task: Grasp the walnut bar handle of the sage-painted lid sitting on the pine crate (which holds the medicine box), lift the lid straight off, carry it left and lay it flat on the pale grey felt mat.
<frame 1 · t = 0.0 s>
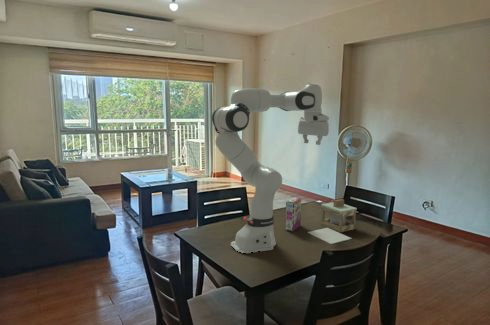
hand: (312, 143, 173), 48 cm above the table, fingers open, 8 cm apart
mat: (328, 235, 175), on the table
lid: (338, 207, 187), point 11 cm above the table, touching crate
candy bar box: (293, 228, 187), on the table
crate: (337, 226, 188), on the table
medicine box: (337, 227, 188), resting in crate
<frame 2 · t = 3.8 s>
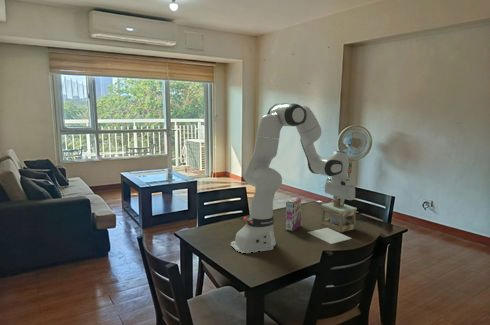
hand: (338, 204, 186), 13 cm above the table, fingers closed on lid
lid: (338, 207, 187), point 11 cm above the table, touching crate, gripper
everything else where it was.
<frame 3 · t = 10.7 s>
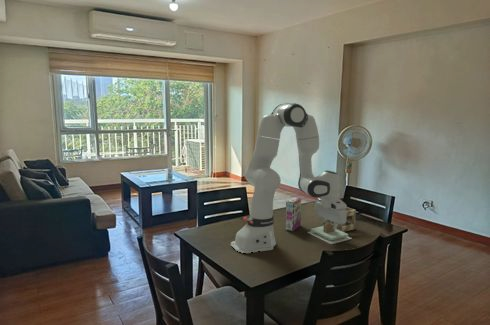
hand: (329, 227, 174), 5 cm above the table, fingers open, 6 cm apart
lid: (329, 233, 175), point 1 cm above the table, touching mat
everything else where it was.
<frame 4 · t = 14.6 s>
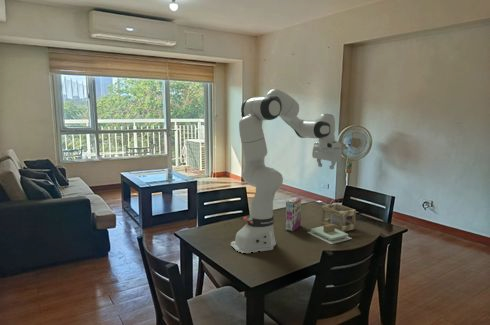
hand: (325, 167, 187), 33 cm above the table, fingers open, 8 cm apart
nothing on the table moved.
at the end: lid inside the target area on the mat (0.0 cm from its centre), point 1.4 cm above the mat's base; lid tilted 0°; lid touching mat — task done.
